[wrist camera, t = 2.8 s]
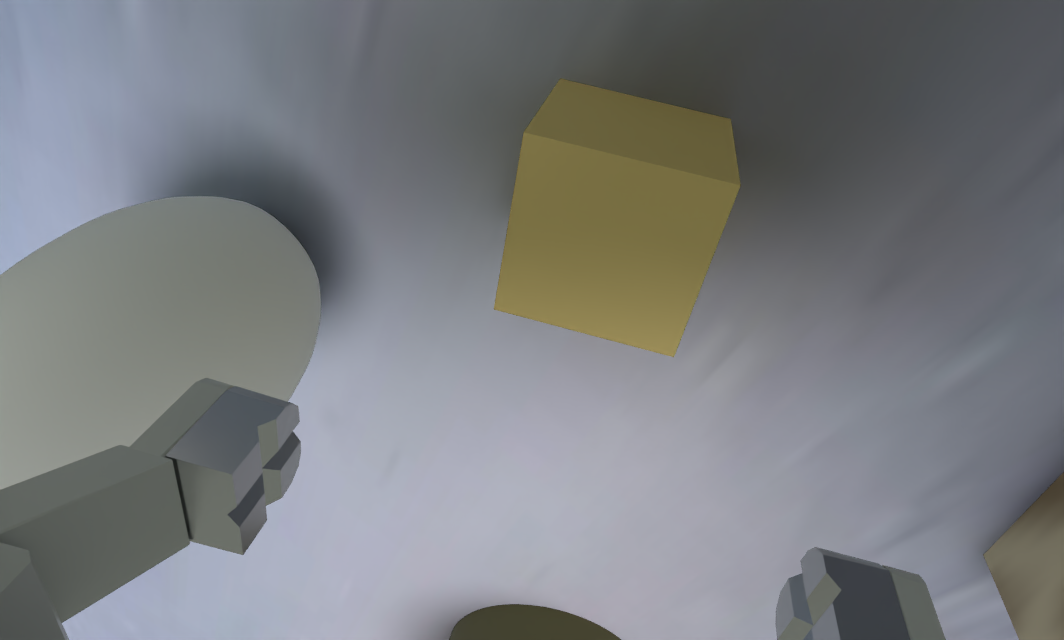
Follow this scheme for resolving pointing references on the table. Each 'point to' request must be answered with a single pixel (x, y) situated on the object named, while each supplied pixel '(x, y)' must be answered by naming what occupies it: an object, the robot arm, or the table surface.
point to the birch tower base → (1033, 567)
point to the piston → (527, 625)
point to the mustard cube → (616, 215)
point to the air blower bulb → (146, 324)
